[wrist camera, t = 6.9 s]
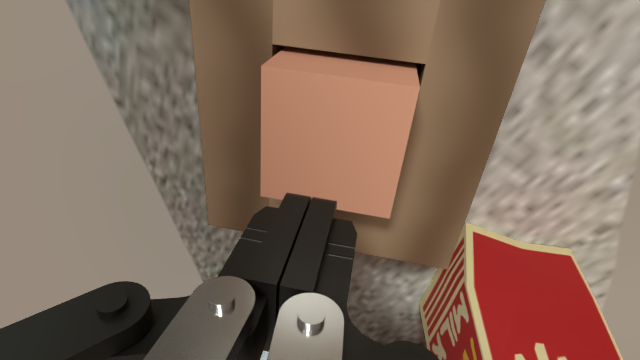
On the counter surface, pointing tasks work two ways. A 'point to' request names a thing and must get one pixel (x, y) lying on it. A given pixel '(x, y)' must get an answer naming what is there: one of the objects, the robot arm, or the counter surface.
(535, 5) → the block
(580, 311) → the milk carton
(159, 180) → the counter surface
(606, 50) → the counter surface
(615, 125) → the counter surface
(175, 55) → the counter surface
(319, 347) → the robot arm
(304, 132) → the salmon pink block
